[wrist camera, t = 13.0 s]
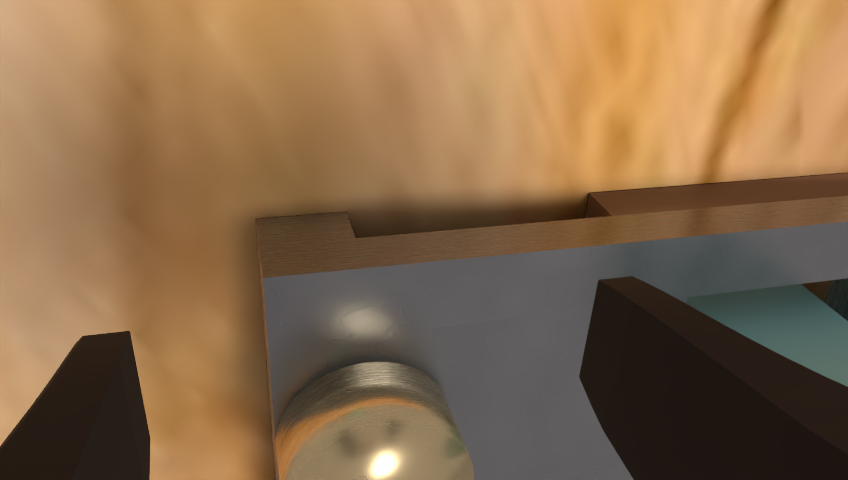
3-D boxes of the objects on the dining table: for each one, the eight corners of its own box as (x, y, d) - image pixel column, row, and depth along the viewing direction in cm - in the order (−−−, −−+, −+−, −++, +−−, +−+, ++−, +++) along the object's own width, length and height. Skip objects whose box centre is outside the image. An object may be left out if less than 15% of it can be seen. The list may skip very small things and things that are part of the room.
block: (739, 360, 28) (933, 561, 21) (635, 376, 27) (799, 593, 20) (772, 261, 26) (1003, 446, 19) (660, 273, 25) (857, 475, 17)
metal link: (787, 410, 31) (887, 515, 26) (276, 496, 26) (292, 643, 21) (882, 170, 25) (1030, 250, 21) (255, 219, 20) (270, 339, 16)
